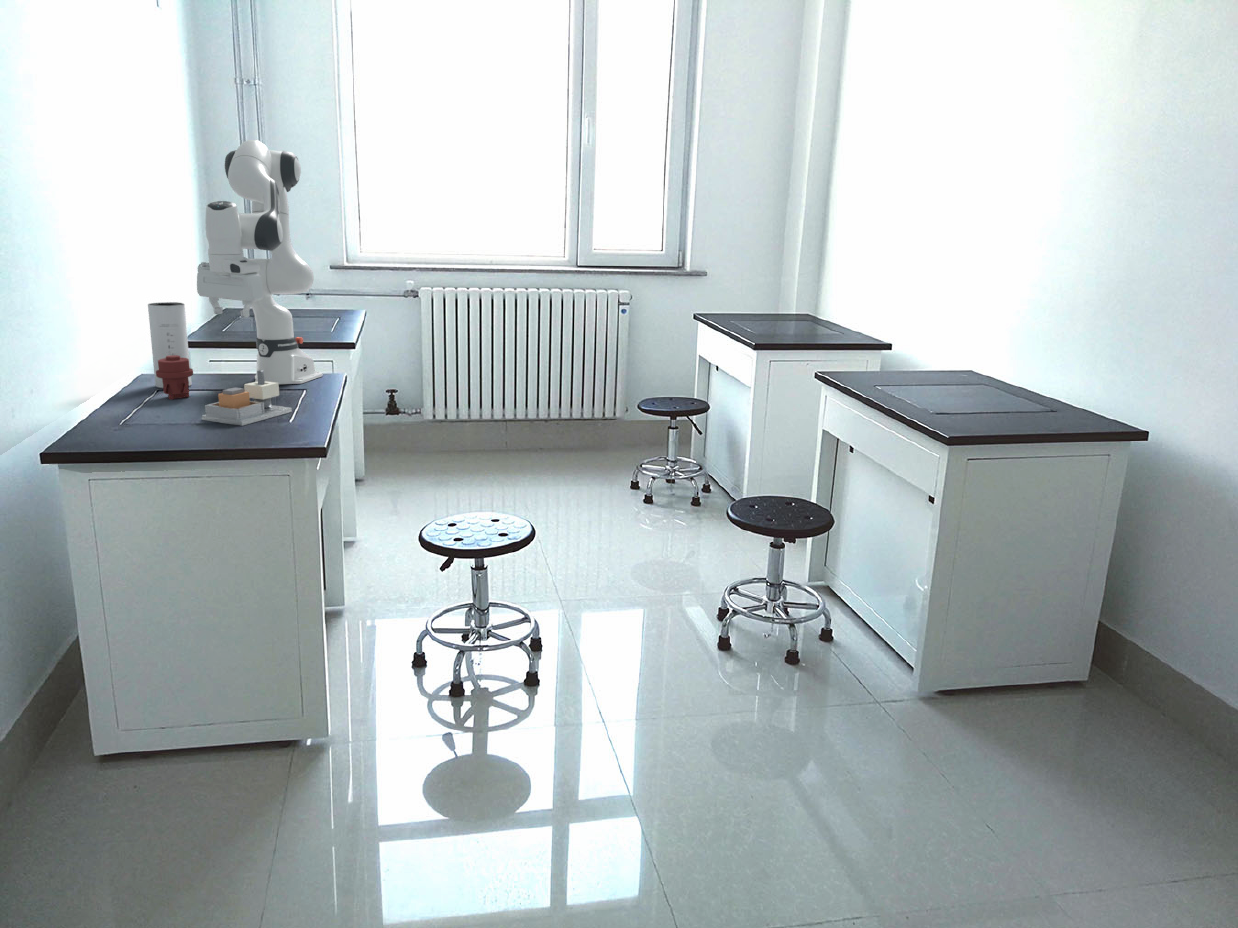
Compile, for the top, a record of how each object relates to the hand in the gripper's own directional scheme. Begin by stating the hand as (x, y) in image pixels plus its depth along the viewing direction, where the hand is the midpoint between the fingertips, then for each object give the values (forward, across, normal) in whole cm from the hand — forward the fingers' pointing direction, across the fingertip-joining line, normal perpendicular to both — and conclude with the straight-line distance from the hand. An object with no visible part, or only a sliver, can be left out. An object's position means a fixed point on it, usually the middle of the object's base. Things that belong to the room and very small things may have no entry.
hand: (231, 315), depth 265 cm
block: (+25, +6, -8) cm, 27 cm away
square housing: (+22, +6, +2) cm, 23 cm away
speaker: (+28, -43, +17) cm, 54 cm away
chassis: (+27, +6, -4) cm, 28 cm away
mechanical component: (+28, -29, +5) cm, 40 cm away
